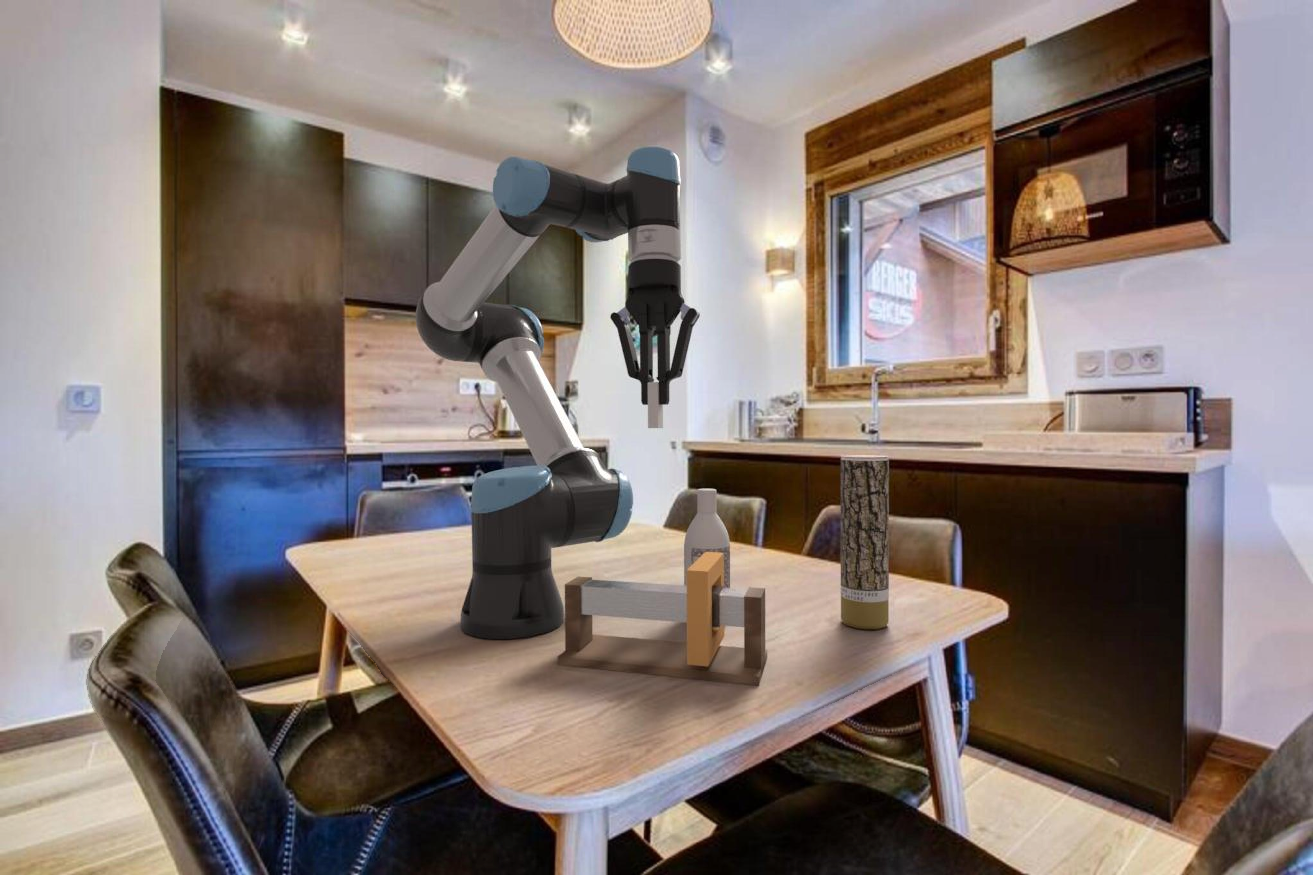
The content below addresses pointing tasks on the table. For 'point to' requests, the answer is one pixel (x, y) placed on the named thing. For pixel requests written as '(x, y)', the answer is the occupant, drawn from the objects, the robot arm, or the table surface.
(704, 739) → the table surface
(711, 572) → the orange square ring
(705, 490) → the bath foam
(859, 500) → the paper tube
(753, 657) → the brown stand
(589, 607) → the rail
